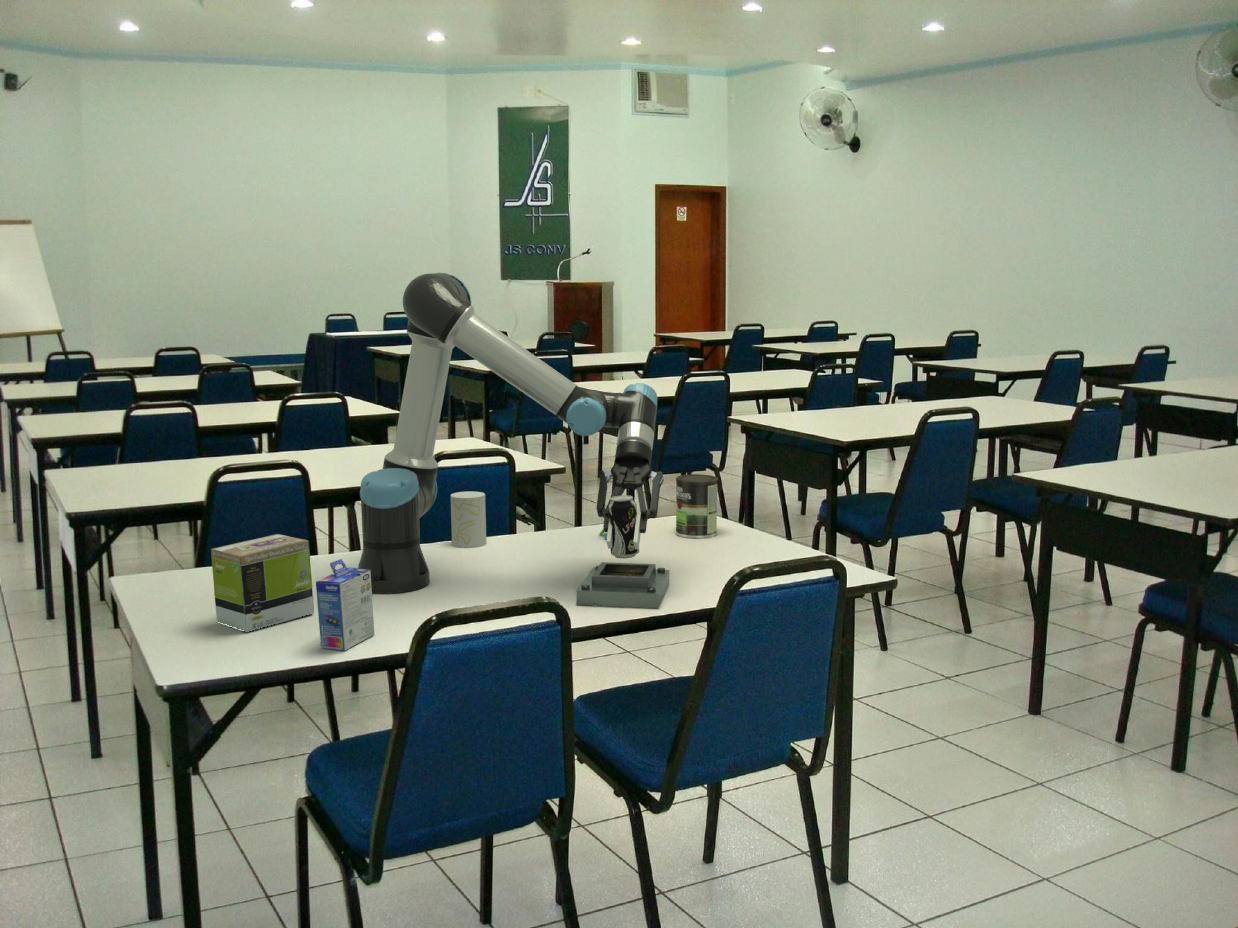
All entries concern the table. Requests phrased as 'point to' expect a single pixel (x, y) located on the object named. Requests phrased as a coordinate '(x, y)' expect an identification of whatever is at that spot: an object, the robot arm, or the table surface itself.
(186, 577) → the table surface
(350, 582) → the ink cartridge box
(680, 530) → the coffee can
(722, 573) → the table surface
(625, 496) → the beverage can
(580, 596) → the grey socket fixture
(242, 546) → the tea box
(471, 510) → the cup
